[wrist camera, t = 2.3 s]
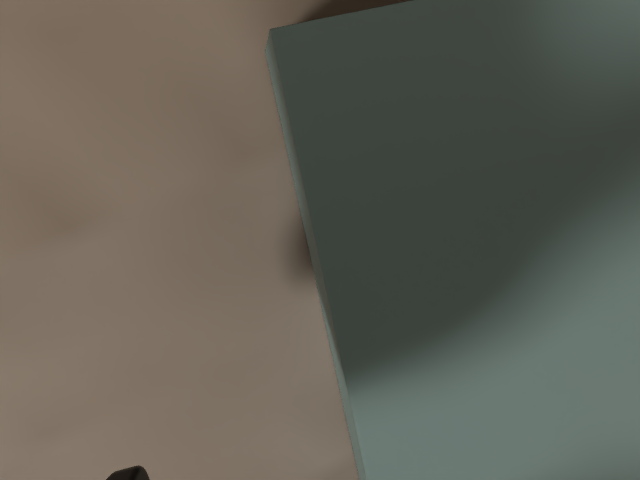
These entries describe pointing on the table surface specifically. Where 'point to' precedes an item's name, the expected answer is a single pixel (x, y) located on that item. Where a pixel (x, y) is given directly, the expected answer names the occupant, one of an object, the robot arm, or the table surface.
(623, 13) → the deck
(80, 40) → the table surface
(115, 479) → the robot arm
